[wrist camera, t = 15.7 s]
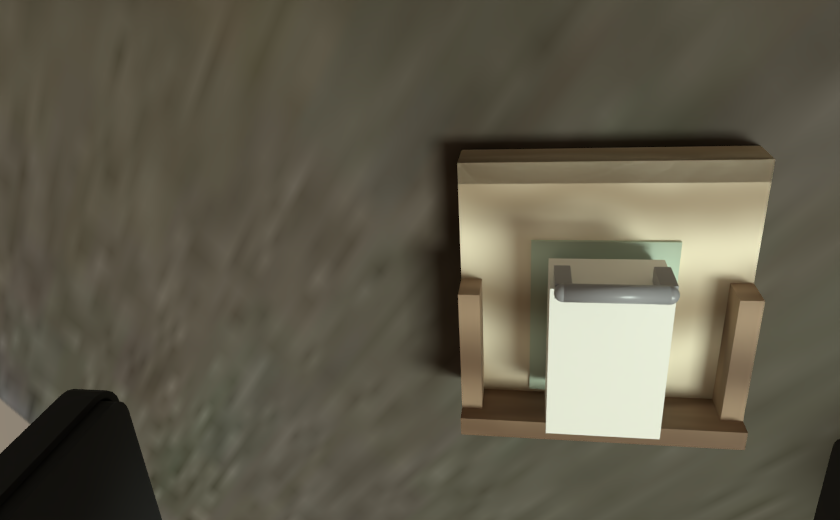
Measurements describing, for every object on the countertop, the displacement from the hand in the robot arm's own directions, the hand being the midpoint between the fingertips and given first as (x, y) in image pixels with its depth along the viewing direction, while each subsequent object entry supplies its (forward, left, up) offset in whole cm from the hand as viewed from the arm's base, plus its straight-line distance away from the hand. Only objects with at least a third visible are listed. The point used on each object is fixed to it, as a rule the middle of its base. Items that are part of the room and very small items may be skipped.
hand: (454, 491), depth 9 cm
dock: (+12, +5, -30) cm, 33 cm away
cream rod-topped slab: (+14, +5, -28) cm, 31 cm away
